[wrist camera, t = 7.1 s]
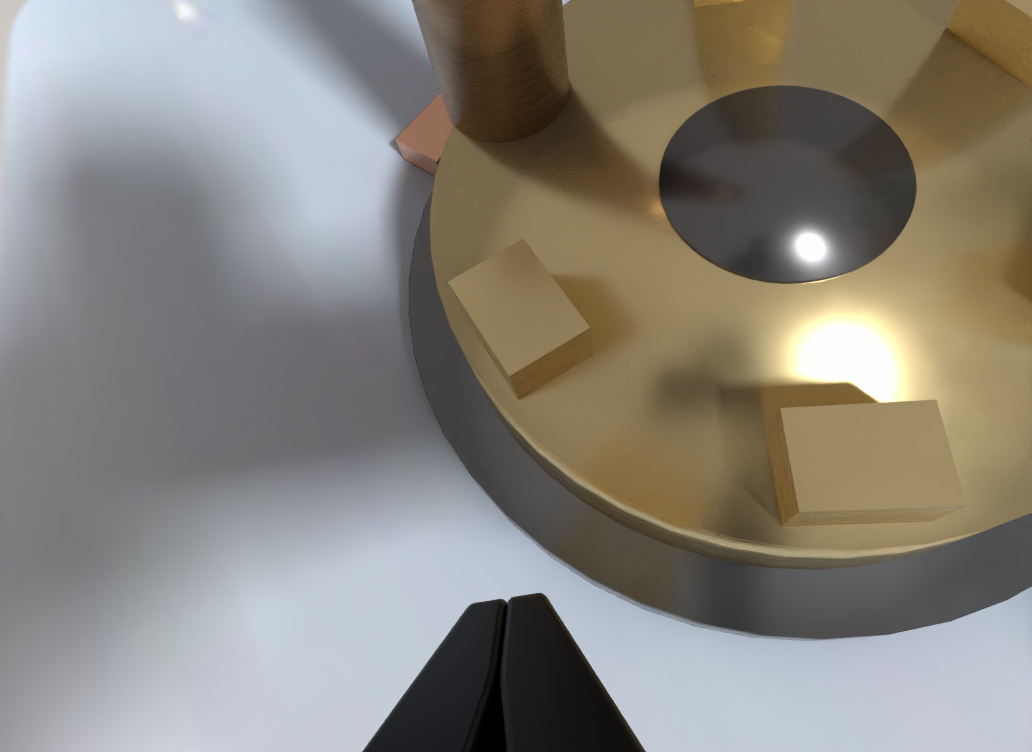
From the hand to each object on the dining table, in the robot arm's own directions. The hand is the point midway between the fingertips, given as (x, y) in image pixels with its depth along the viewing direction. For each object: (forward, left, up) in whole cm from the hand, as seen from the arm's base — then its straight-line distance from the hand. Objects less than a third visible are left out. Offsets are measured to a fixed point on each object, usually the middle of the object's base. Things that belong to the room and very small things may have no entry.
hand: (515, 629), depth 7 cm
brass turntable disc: (+12, +2, -9) cm, 15 cm away
